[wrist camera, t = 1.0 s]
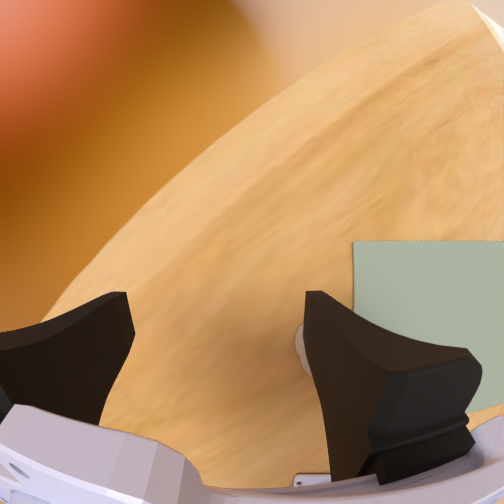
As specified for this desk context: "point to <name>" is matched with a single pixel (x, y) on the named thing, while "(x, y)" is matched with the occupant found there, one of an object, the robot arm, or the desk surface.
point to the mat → (438, 299)
